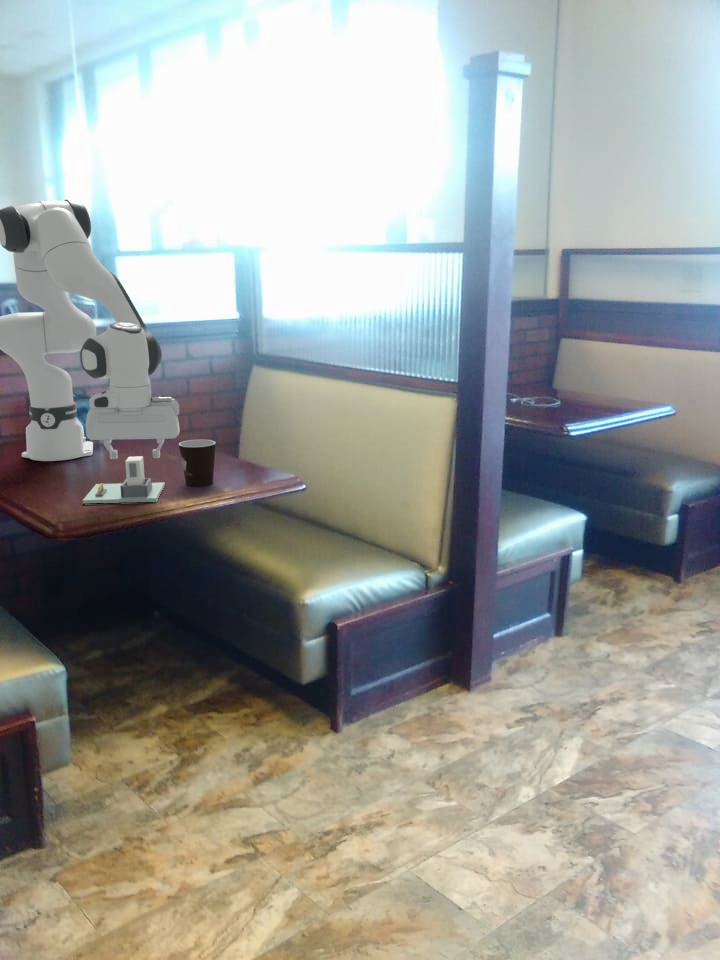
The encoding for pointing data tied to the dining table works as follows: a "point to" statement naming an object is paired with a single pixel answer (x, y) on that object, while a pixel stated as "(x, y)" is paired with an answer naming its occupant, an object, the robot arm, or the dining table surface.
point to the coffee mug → (198, 462)
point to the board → (125, 492)
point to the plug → (135, 471)
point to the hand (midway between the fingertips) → (135, 457)
